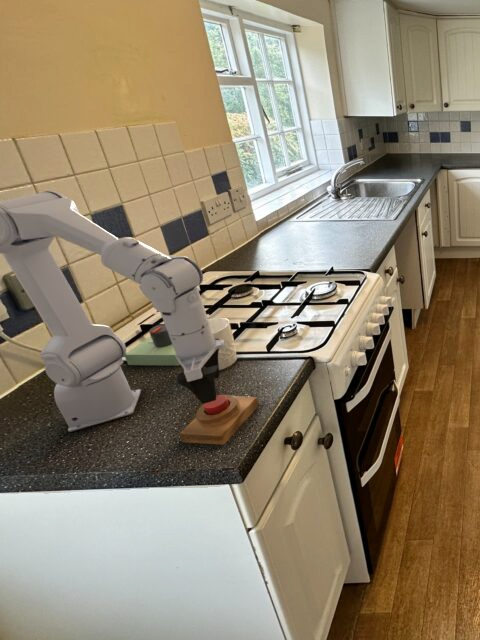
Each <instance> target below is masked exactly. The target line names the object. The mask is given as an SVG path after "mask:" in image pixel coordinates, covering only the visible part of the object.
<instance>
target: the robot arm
mask: <svg viewBox="0 0 480 640" xmlns="http://www.w3.org/2000/svg"><path fill="white" fill-rule="evenodd" d="M56 237H57V238H59V239H62V240H64V241H66V242H68V243H71V244H73V245H75V246H78V247H80V248H83V249H85V250H87V251H90V252H92V253H93V254H94V253H95V254H97V255H99V256H100V261H101V264H102V265H103V267H104V268H107V269H109V270H110V271H113V272H115V273H117V274H119V275H121V276H122V277H125V278H126V279H128V280H130V281H132V282H134V283H135V284H138V285H139V286H138V288H139V290H140V291H141V293H142V294H143V295H144V296H145V297H146V298H147V299H148V300H149V301H150V302H151V304H152V307H153V308H154V309H155V310H156V311H157V313H158V312H159V313H160V315H161V318H162V320H163V321H162V322H163V324H165V326H166V329H167V331H168V334H169V337H170V339H171V342H172V344H173V347H174V350H175V352H176V353H175V356H176V359H177V360H178V362H179V363H180V365H179V366H181V368H182V369H183V371H181V372H177V375H176V382H177V383H178V385H180V386H182V387H184V388H186V389H188V390H189V391H190V392H191V393H192V394H193V395H194V396H195V397H196V399H197V400H198V401H199V402H200V403H201V405H203V404H204V403H208V402H211V401H215V400H216V396H217V386H216V379H219V377H220V370H219V363H218V351H219V348H222V347H223V346H224V340H222V339H221V340H220V339H214V336H213V333H212V330H211V327H210V324H209V321H208V319H209V318H208V315H207V312H206V309H205V306H204V304H203V300H202V297H201V295H200V290H199V287H198V286H200V285H202V284H203V280H204V274H203V271H202V269H201V268H200V266H199V265H198V263H196V262H195V261H194V260H192V259H190V257H188V256H184V255H177V256H174V255H173V254H171V255H170V254H169V255H166V254H164V253H162V252H160V251H159V250H157V249H154V248H153V247H151V246H149V245H147V244H145V243H143V242H141V241H139V240H138V239H136V238H134V237H130V236H124V237H116V236H115V235H114V234H112V233H110V232H109V231H107V230H105V228H103V227H101V226H100V225H98V224H97V223H95V222H93V221H91V220H90V219H89V218H87V217H86V216H84V215H82V214H81V213H80V211H79V208H78V206H77V205H76V203H75V202H74V200H72V199H71V198H68V197H67V196H65V195H64V194H63V193H61V192H59V191H56V190H45V191H43V192H38V193H34V194H28V195H24V196H19V197H14V198H9V199H3V200H0V254H2V256H3V258H4V259H5V261H6V263H7V265H8V266H9V267H10V269H11V271H12V272H13V275H15V277H16V279H17V281H18V282H19V283H20V285H21V287H22V288H23V290H24V291H25V293H26V295H27V297H28V298H29V300H30V301H31V303H32V304H33V306H34V308H35V309H36V311H37V312H38V314H39V316H40V317H41V319H42V321H43V322H44V324H45V326H46V327H47V328H48V330H49V331H50V333H51V335H52V336H51V338H49V340H48V342H47V343H46V344H45V346H44V347H43V349H42V350H41V351H40V354H39V355H40V357H41V359H42V361H43V364H44V371H45V373H46V375H47V377H48V378H49V379H50V380H51V381H52V382H54V383H55V387H54V390H53V396H54V402H55V404H56V407H57V408H58V410H59V412H60V413H61V416H62V417H63V419H64V421H65V423H66V424H67V426H68V428H67V431H68V433H70V432H71V433H72V432H75V431H77V430H82V429H85V428H88V427H91V426H95V425H98V424H103V423H105V422H110V421H112V420H117V419H120V418H124V417H126V416H130V415H132V414H133V413H134V412H135V409H136V407H137V405H138V401H139V398H140V396H141V393H142V389H139V388H138V389H134V390H132V389H131V387H130V385H129V382H128V380H127V377H126V376H125V373H124V371H123V369H122V366H121V365H122V364H123V363H124V361H123V358H125V354H126V353H127V346H126V344H125V342H124V340H123V339H122V338H121V337H120V336H118V335H117V334H116V333H115V332H114V330H113V329H112V328H111V326H109V325H105V324H98V323H92V322H91V320H90V318H89V316H88V315H87V314H86V312H85V310H84V308H83V306H82V305H81V303H80V301H79V299H78V298H77V295H76V294H75V293H74V290H73V288H72V287H71V285H70V283H69V282H68V280H67V278H66V277H65V275H64V273H63V271H62V270H61V268H60V266H59V264H58V263H57V261H56V259H55V258H54V256H53V254H52V252H51V250H50V248H49V247H50V246H51V244H52V242H53V240H54V239H55V238H56Z"/></svg>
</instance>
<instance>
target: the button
mask: <svg viewBox="0 0 480 640" xmlns="http://www.w3.org/2000/svg"><path fill="white" fill-rule="evenodd" d="M225 395H226V394H219V395H216V400H215V401H211V402H208V403H205V404H204V408H205V410H206V413H207V414H208V415H215V414H218V413H220V412H222V411H224V410H226V409H227V408H228V407H229V403H228V400H227V397H226V396H225Z"/></svg>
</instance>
